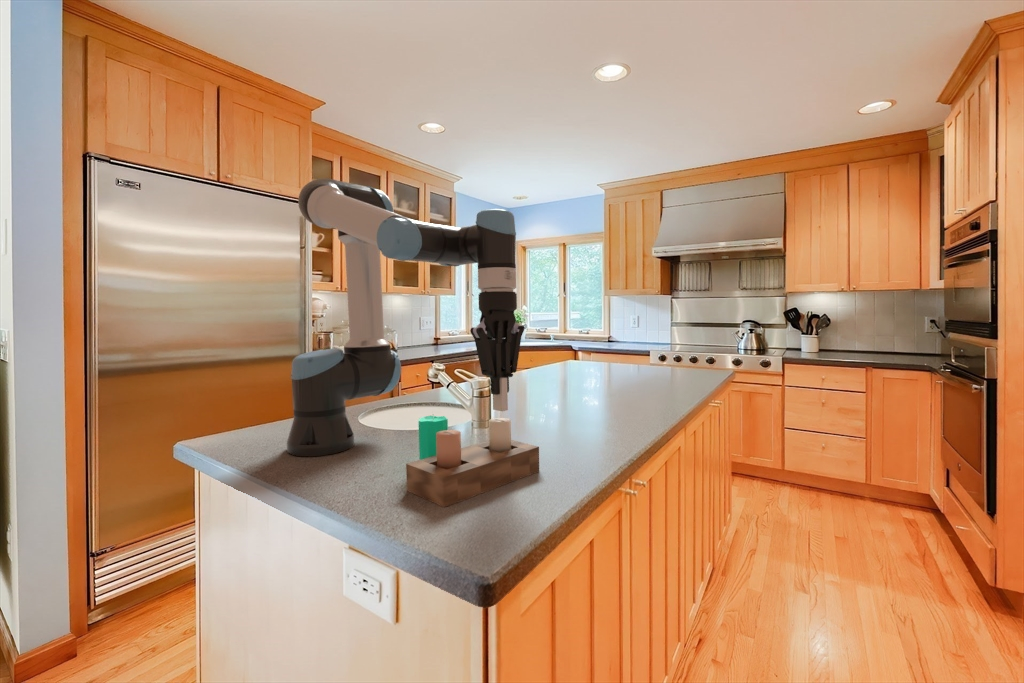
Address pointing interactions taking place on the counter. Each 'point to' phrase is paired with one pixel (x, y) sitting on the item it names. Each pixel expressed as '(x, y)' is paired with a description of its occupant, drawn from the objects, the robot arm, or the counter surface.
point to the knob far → (499, 434)
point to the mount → (471, 472)
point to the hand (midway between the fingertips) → (500, 409)
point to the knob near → (448, 448)
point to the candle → (430, 434)
